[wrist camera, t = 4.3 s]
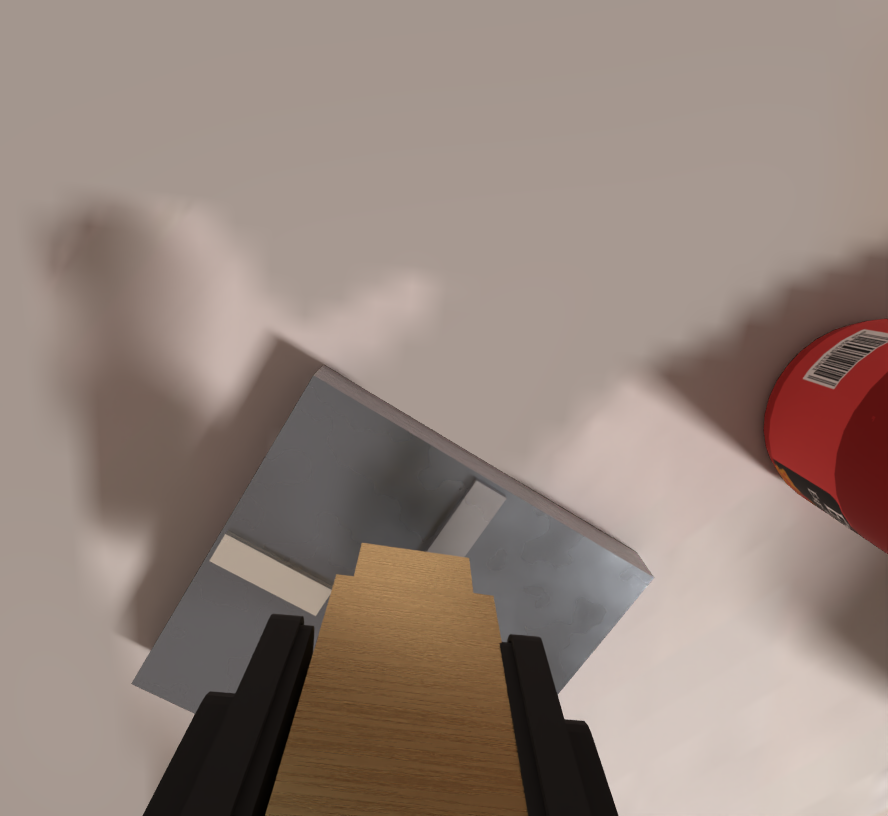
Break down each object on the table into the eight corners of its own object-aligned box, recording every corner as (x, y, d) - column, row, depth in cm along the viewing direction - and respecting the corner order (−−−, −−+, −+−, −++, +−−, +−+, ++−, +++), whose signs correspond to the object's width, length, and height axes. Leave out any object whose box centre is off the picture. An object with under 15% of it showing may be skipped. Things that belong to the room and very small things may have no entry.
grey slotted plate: (444, 791, 29) (449, 1025, 20) (153, 651, 26) (14, 851, 17) (637, 552, 25) (744, 710, 17) (323, 364, 23) (256, 435, 14)
